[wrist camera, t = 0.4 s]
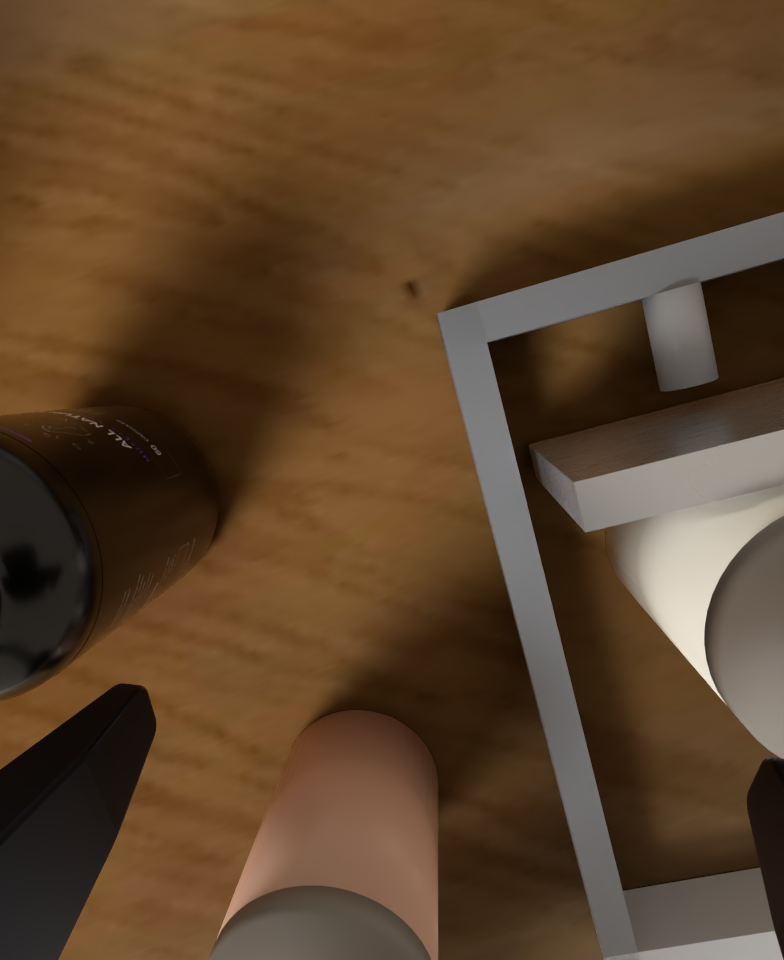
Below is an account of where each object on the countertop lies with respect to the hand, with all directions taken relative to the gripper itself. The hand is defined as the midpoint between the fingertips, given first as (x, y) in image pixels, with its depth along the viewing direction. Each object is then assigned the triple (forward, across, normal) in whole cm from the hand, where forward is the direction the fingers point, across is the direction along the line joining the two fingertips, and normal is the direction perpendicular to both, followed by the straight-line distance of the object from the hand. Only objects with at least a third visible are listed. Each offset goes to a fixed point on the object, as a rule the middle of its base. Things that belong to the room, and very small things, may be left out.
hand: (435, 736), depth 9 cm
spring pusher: (+14, -7, +1) cm, 15 cm away
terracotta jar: (+8, +3, +14) cm, 17 cm away
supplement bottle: (+12, +12, +4) cm, 17 cm away
